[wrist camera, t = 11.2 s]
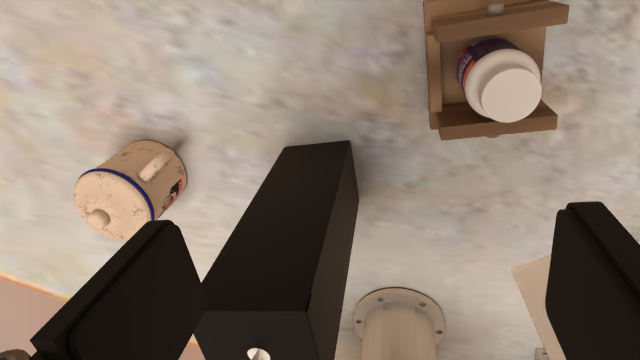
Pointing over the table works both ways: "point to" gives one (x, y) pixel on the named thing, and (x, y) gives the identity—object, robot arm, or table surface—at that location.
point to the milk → (538, 302)
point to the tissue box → (285, 262)
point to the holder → (461, 28)
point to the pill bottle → (498, 79)
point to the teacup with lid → (130, 189)
